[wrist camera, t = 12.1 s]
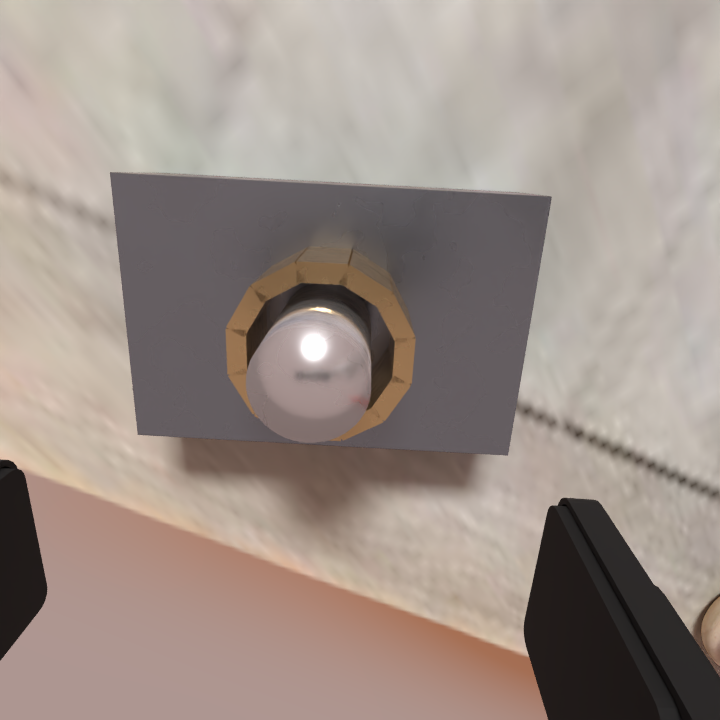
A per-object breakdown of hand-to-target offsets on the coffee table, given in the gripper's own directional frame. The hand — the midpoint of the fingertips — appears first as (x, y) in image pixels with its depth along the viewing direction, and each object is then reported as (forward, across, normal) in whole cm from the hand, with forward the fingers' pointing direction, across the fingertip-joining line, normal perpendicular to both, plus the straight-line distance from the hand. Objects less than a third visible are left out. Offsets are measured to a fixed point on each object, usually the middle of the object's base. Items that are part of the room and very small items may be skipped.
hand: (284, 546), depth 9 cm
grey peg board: (+20, +1, 0) cm, 20 cm away
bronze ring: (+15, +1, 0) cm, 15 cm away
